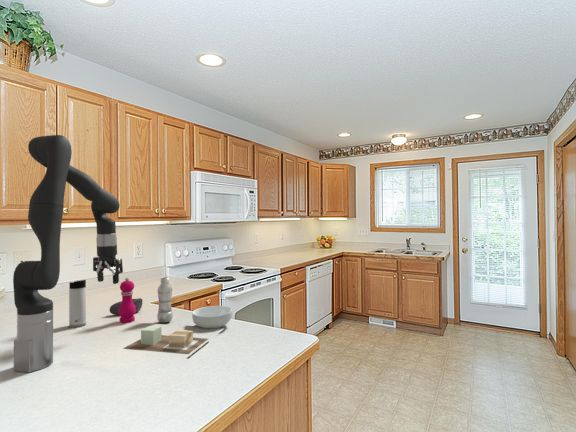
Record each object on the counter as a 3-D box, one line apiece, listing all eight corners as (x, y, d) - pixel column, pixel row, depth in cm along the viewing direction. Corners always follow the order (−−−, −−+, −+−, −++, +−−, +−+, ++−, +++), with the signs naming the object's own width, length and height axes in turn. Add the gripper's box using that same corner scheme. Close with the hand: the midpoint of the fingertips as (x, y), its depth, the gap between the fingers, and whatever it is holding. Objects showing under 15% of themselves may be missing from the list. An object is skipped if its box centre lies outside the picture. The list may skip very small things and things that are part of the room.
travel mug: (78, 328, 146) (78, 281, 147) (65, 327, 148) (65, 281, 148) (90, 323, 153) (89, 279, 153) (77, 323, 154) (77, 278, 154)
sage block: (153, 345, 122) (153, 330, 122) (140, 344, 123) (140, 330, 123) (161, 340, 127) (161, 326, 127) (149, 339, 128) (149, 325, 128)
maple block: (184, 347, 118) (184, 336, 119) (168, 346, 120) (168, 335, 120) (192, 341, 124) (192, 330, 124) (178, 340, 126) (178, 329, 126)
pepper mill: (114, 322, 155) (114, 278, 155) (128, 318, 161) (128, 275, 161) (125, 324, 151) (125, 279, 152) (139, 320, 158) (139, 276, 158)
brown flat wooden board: (188, 358, 113) (188, 353, 113) (122, 352, 119) (122, 348, 119) (208, 342, 128) (208, 338, 128) (149, 338, 133) (149, 334, 133)
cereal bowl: (190, 323, 152) (190, 307, 152) (227, 319, 158) (227, 304, 158) (194, 335, 136) (194, 317, 136) (235, 330, 142) (235, 313, 142)
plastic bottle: (167, 319, 159) (167, 276, 159) (175, 321, 154) (175, 277, 155) (154, 322, 154) (154, 278, 154) (162, 325, 150) (162, 279, 150)
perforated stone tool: (109, 317, 163) (109, 302, 163) (109, 314, 168) (109, 300, 168) (143, 313, 170) (143, 299, 170) (142, 310, 175) (142, 297, 175)
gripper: (86, 244, 142) (88, 282, 143) (111, 246, 136) (113, 286, 138) (102, 242, 149) (103, 278, 150) (127, 243, 143) (128, 281, 145)
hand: (108, 282), depth 144 cm, fingers open, 8 cm apart
